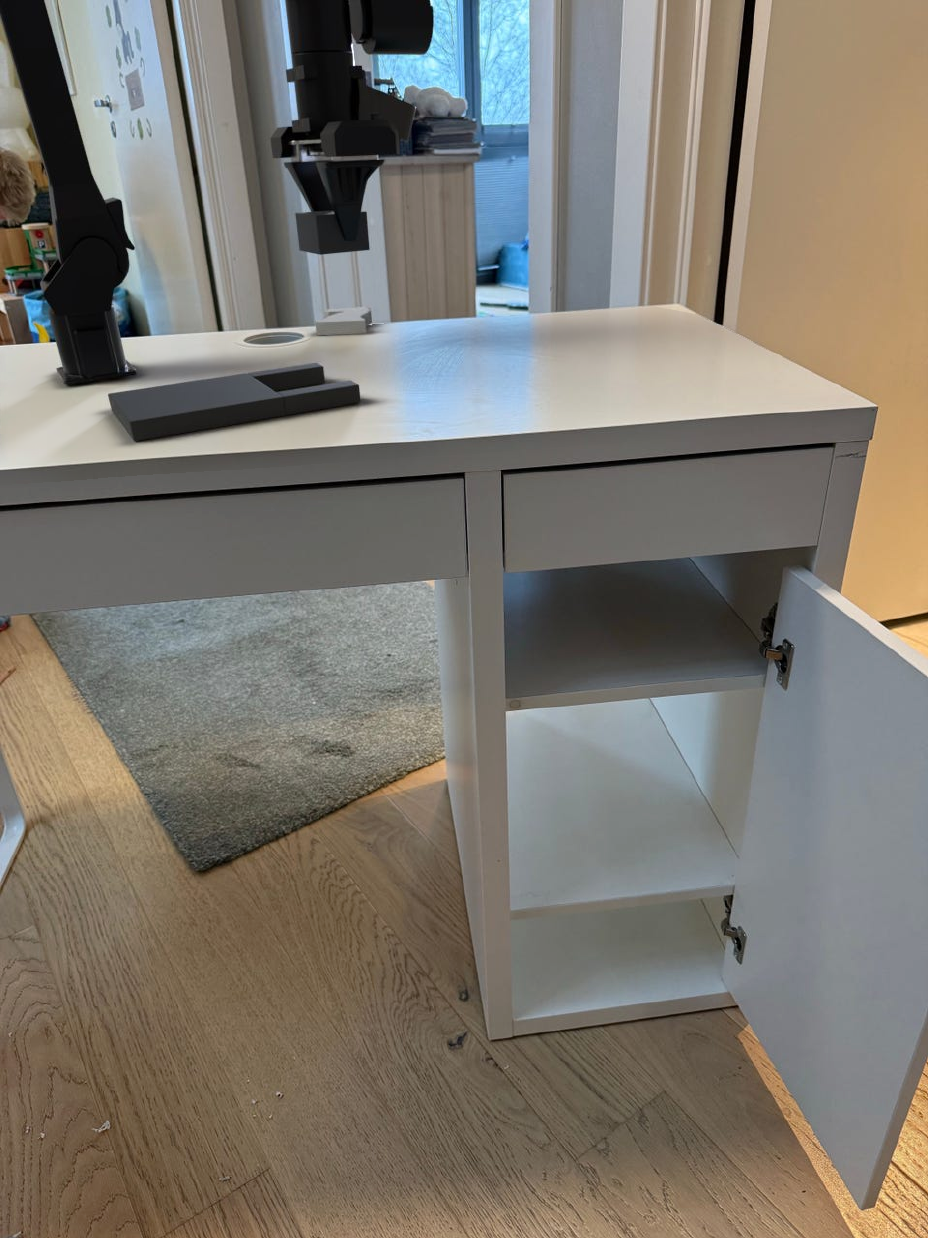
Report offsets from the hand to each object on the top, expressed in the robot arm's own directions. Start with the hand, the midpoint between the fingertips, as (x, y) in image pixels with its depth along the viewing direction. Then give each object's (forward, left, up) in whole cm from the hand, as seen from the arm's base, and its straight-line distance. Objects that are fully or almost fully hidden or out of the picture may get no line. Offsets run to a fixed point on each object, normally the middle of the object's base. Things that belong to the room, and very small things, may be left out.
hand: (339, 238), depth 87 cm
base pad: (+18, -18, -10) cm, 27 cm away
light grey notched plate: (-8, +6, -10) cm, 14 cm away
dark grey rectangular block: (0, -1, -1) cm, 1 cm away
